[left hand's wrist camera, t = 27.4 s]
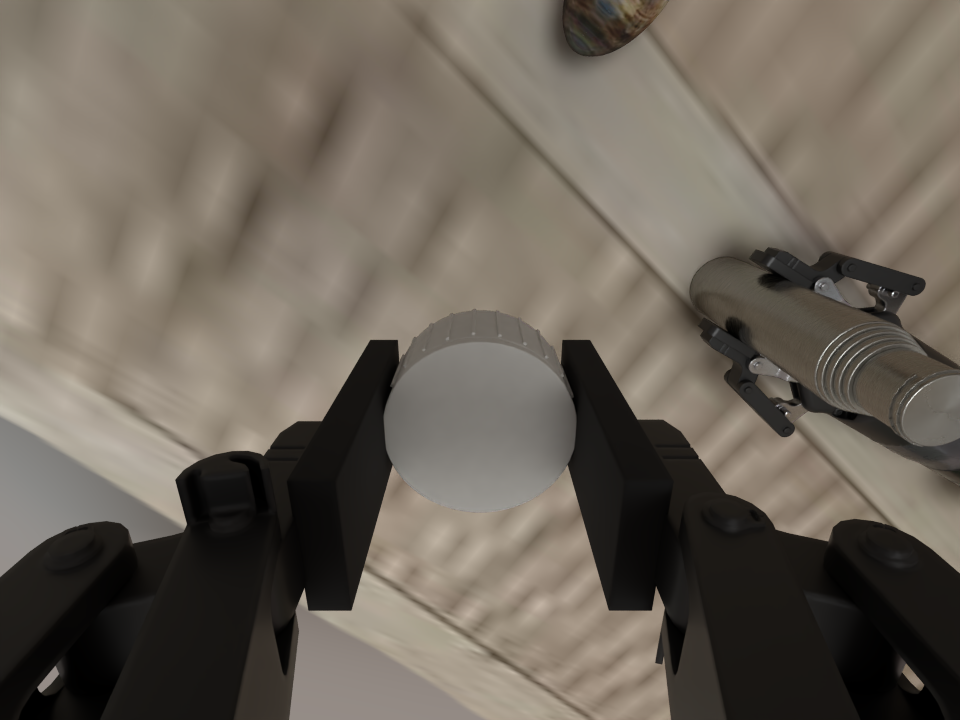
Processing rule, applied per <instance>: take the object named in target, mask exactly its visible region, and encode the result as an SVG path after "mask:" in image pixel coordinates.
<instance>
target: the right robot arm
mask: <svg viewBox="0 0 960 720" xmlns="http://www.w3.org/2000/svg"><path fill="white" fill-rule="evenodd" d="M749 259H750V260H752V261H753V262H755V263H756V264H758V265H760V266H761V267H763V268H764V269H766V270H767V271H769V272H771V273H772V274H774V275H776V276H779V277H781V278H784V279H786V280H789V281H791V282H793V283H796V284H798V285H801V286H803V287H806V288H808V289H810V290H813V291H815V292H818V293H820V294H823V295H825V296H827V297H830V298H832V299H835V300H837V301H840V302H842V303H844V304H847V305H849V306H851V305H850V304H849V303H848V302H847V301H845V300H844V299H843V297H842V296H841V294H840V292H839V291H838V289H837V287H836V286H835V283H836V282H838V281H839V280H841V279H842V278H843V277H845V276H846V277H849V278H853V279H856V280H860V281H863V282H867V283H868V284H867V286H866V288H867V289H868V292H869V294H870V295H871V296H873V297H874V298H875V300H876V305H875V307H867V308H858V309H859V310H861V311H864V312H866V313H869V314H871V315H874V316H876V317H878V318H881V319H883V320H886V321H888V322H891V323H893V324H895V325H897V326H899V327H901V328H902V329H903V327H902V325H901V322H900V319H899V317H898V316H897V315H896V313H897V311H898V309H899V308H900V306H901V305H902V303H903V301H904V300H905V298H906V296H907V295H911V296H915V295H918V294H920V293H921V292H922V291H923V290H924V288H925V285H926V283H925V280H924V279H922V278H919V277H916V276H913V275H909V274H906V273H903V272H899V271H896V270H893V269H889V268H886V267H882V266H879V265H876V264H872V263H869V262H866V261H862V260H859V259H856V258H852V257H848V256H845V255H841V254H838V253H834V252H826V253H824V254H822V255H821V257H820V258H819V262H818V263H816V264H815V265H813V266H810V267H809V266H808V265H806V264H805V263H803V262H802V261H800V260H798V259H797V258H796V257H794V256H793V255H791V254H789V253H788V252H785V251H782V250H779V249H776V248H769V247H768V248H767V249H766V251H765V252H762V251H759V250H755V251H754V253H753V254H752V255H751V257H750V258H749ZM698 326H699V327H700V328H701V329H703V330H704V331H703V333H702V334H701V335H700V336H701V337H702V339H703V340H704V341H705V342H706V343H707V344H708V345H709V346H711V347H712V348H713V349H715V350H717V351H719V352H720V353H722V354H724V355H725V356H727V357H729V358H731V359H732V360H733V366H732V369H730V370H728V371H727V372H726V373H725V375H724V379H725V381H726V382H727V383H728V384H729V385H730V386H731V387H732V388H733V389H734V390H735V391H736V393H737V394H738V395H739V396H740V397H741V398H742V399H743V400H744V401H745V402H746V403H747V404H748V405H749V406H750V407H751V408H752V409H753V410H754V411H755V412H756V413H757V414H758V415H759V416H760V417H761V418H762V419H763V420H764V421H765V422H766V423H767V424H768V425H769V426H770V427H771V428H772V429H773V430H774V431H776V432H777V433H778V434H779V435H780V436H781V437H788V436H790V435H791V434H793V432H794V430H795V427H794V425H793V424H792V423H793V422H794V421H795V420H797V419H798V418H799V417H801V416H802V415H803V414H805V413H806V412H807V411H810V412H814V413H826V414H829V415H831V416H832V417H834V418H836V419H838V420H839V421H841V422H843V423H844V424H846V425H848V426H850V427H851V428H853V429H855V430H857V431H858V432H860V433H862V434H863V435H865V436H867V437H869V438H870V439H872V440H873V441H875V442H877V443H879V444H881V445H883V446H884V447H886V448H888V449H889V450H891V451H893V452H895V453H897V454H899V455H901V456H903V457H905V458H907V459H910V460H913V461H915V462H918V463H920V464H922V465H924V466H926V467H927V468H929V469H931V470H933V471H934V472H936V473H938V474H939V475H941V476H943V477H944V478H946V479H948V480H949V481H951V482H953V483H955V484H956V485H958V486H960V438H959V439H957V440H955V441H953V442H950V443H947V444H944V445H939V446H923V447H921V446H916V445H913V444H911V443H909V442H908V441H906V440H905V439H903V438H902V437H900V436H899V435H897V434H896V433H895V432H894V431H893V430H892V428H890V427H889V426H887V425H886V424H884V423H883V422H881V421H880V420H878V419H877V418H875V417H873V416H867V415H863V414H858V413H853V412H848V411H844V410H841V409H839V408H837V407H834V406H832V405H830V404H828V403H827V402H825V401H824V400H822V399H821V398H820V397H818V396H817V395H815V394H814V393H813V392H811V391H810V390H809V389H807V388H806V387H804V386H803V385H802V384H800V383H799V382H797V381H796V380H795V379H793V378H792V377H790V376H789V375H788V374H786V373H785V372H783V371H782V370H781V369H779V368H778V367H777V366H775V365H774V364H772V363H771V362H770V361H768V360H767V359H765V358H764V357H763V356H761V355H760V354H758V353H757V352H756V351H754V350H753V349H751V348H750V347H749V346H747V345H746V344H745V343H743V342H742V341H740V340H739V339H738V338H736V337H735V336H733V335H732V334H731V333H729V332H728V331H726V330H724V329H723V328H721V327H719V326H718V325H716V324H714V323H712V322H711V321H709V320H707V319H706V318H703V319H702V321H701V322H700V323H699V325H698ZM903 330H904V329H903ZM910 335H911V334H910ZM911 336H912V335H911ZM912 337H913V338H914V340H915V341H916V342H917V343H918V344H919V346H920V347H921V348H922V349H923V351H924V352H925V353H926V354H927V355H928V357H930V358H932V359H934V360H936V361H938V362H941V363H943V364H945V365H947V366H949V367H952V368H954V369H959V370H960V366H959V365H957V364H956V363H954V362H953V361H951V360H950V359H948V358H947V357H945V356H943V355H942V354H940V353H939V352H937V351H936V350H934V349H933V348H931V347H929V346H928V345H926V344H925V343H923V342H922V341H920V340H919V339H917V338H916V337H914V336H912ZM758 374H760V375H767V376H773V377H778V378H780V379H783V380H786V381H789V383H790V387H791V391H792V395H793V399H792V400H789V401H786V400H783V399H782V398H779V397H776V398H772V397H771V398H769V399H768V398H767V396H766V395H765V394H764V393H763V392H762V391H761V390H760V389H759V388H758V387H757V386H756V385H755V382H756V379H757V377H758Z"/></svg>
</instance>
